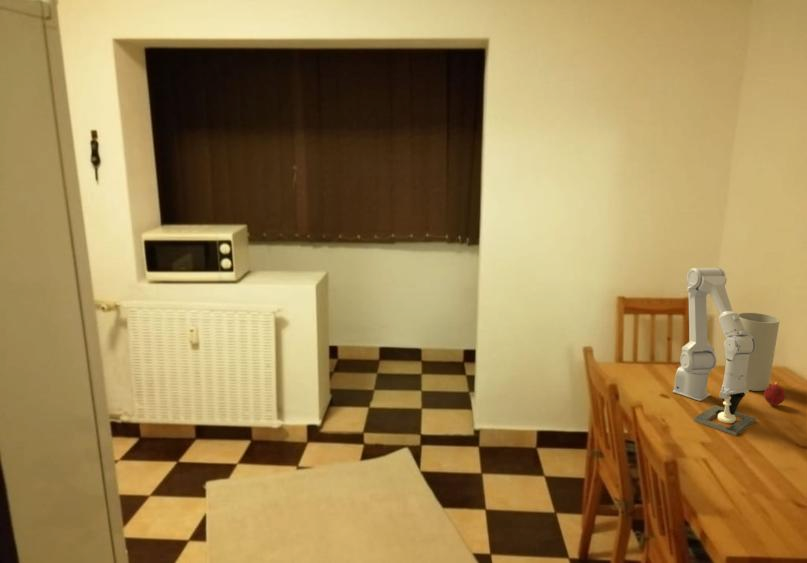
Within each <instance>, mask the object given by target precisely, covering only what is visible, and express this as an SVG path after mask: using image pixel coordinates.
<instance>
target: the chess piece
mask: <svg viewBox="0 0 807 563" xmlns="http://www.w3.org/2000/svg"><path fill="white" fill-rule="evenodd" d="M730 399H731V396H730V395H729V396H728V397H727V399H725V401H724V402H723V401H722V404H723V406H724V405H725V409H724V412H721V413H717V420H718V421H720V422H722V423H725V424H732V423H733V424H734V423H736V422H737V418H736V417H737V416H735V415H734V414H733V415H732V414H731V413H730V410H729V405H731V402H729V401H730Z"/></svg>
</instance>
